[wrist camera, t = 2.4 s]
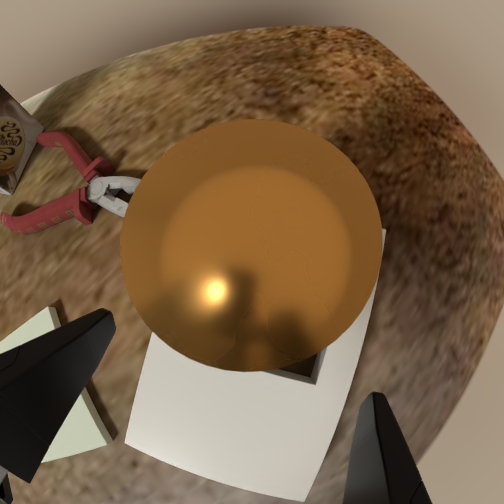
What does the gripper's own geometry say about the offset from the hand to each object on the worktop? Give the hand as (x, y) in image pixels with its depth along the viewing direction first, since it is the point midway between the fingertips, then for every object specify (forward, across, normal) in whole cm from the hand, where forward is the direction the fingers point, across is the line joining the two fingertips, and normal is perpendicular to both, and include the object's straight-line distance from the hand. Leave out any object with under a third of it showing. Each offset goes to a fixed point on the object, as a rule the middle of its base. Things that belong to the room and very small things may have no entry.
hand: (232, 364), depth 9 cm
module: (+10, 0, +6) cm, 11 cm away
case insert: (+7, 0, +8) cm, 11 cm away
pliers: (+12, +20, +4) cm, 24 cm away
